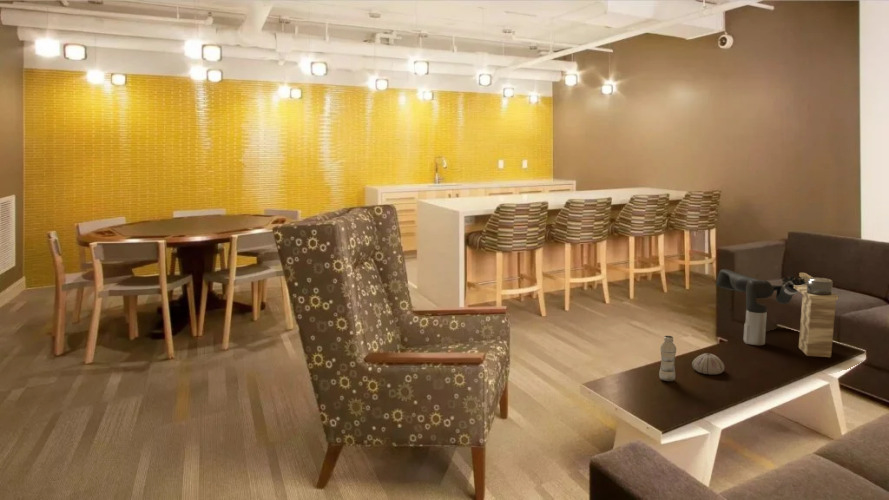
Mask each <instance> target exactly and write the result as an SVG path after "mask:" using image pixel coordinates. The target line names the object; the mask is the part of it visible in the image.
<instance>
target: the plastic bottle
mask: <svg viewBox="0 0 889 500" xmlns="http://www.w3.org/2000/svg"><path fill="white" fill-rule="evenodd" d="M659 350H660V358H661V359H660V363H661V364H660V369H659V373H658V376H659V378H660V379H661V381H665V382H673V381H674V380H675V379H676V370H675V368H676V367H675V359H676V354H677V346H676V345H675V343H674V336H671V335H665V336H664V337H663V342H662V344H660V349H659Z"/></svg>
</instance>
